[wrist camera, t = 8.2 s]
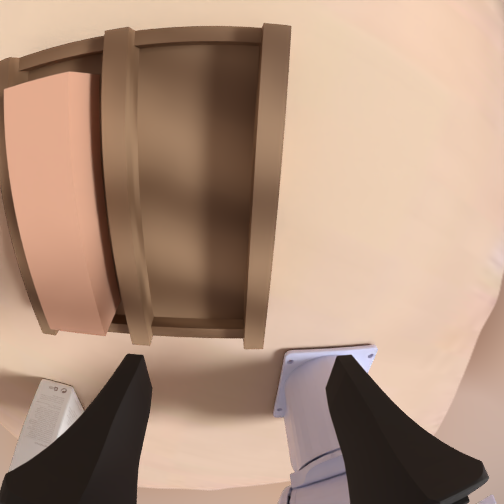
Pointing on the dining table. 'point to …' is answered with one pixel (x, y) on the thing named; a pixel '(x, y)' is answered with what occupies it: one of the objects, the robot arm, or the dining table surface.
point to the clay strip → (62, 198)
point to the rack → (180, 172)
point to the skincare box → (46, 419)
